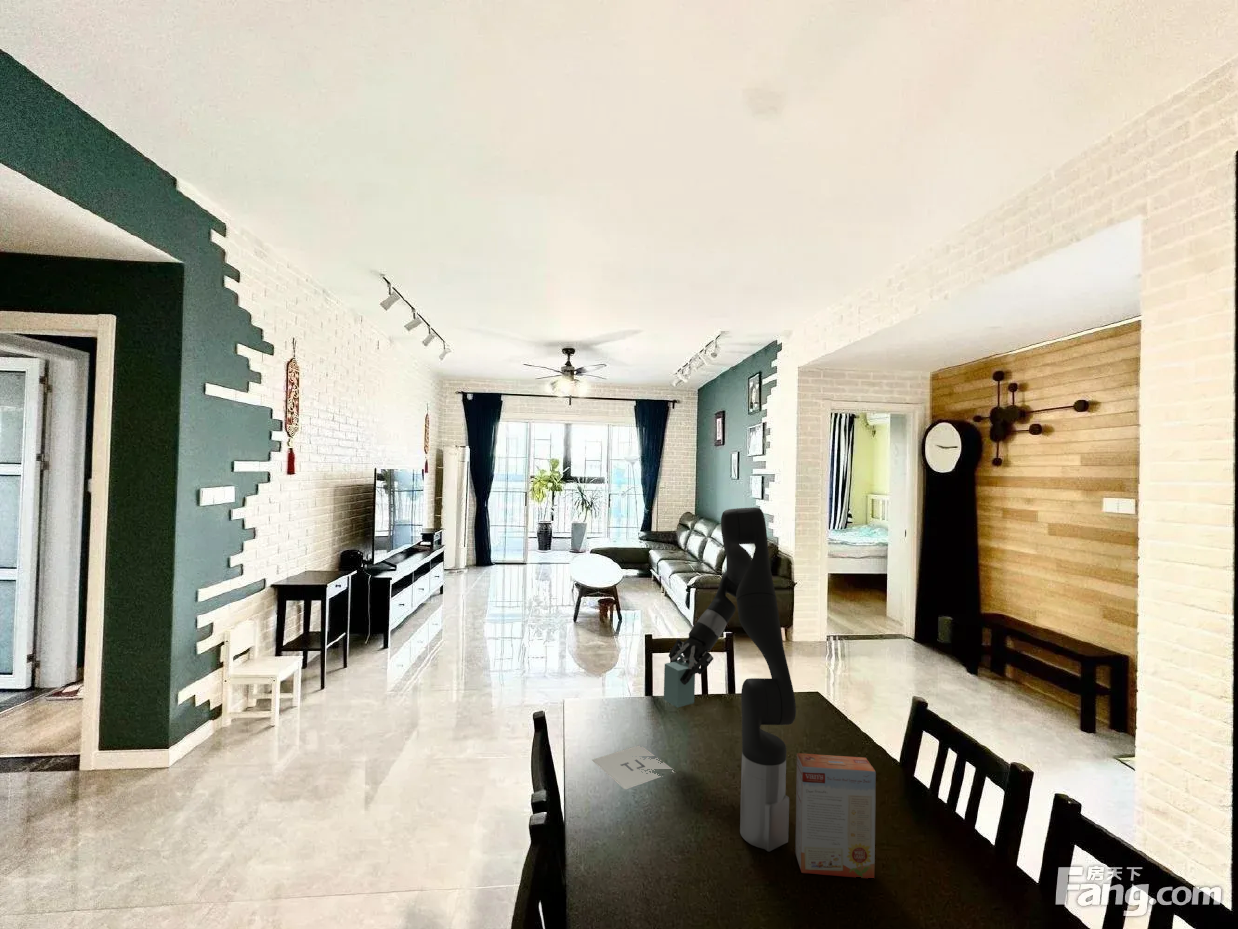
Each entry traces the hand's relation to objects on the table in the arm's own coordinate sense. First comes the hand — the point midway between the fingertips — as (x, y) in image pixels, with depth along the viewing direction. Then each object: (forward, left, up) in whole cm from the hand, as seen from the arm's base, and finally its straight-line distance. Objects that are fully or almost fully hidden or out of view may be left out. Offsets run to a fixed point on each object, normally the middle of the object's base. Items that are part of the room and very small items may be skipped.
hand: (674, 678), depth 154 cm
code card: (0, +13, -20) cm, 24 cm away
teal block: (0, -2, -7) cm, 7 cm away
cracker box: (-51, 0, -21) cm, 55 cm away
